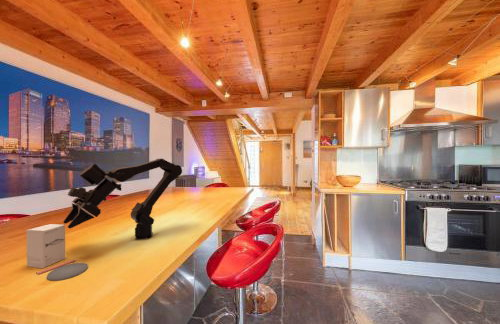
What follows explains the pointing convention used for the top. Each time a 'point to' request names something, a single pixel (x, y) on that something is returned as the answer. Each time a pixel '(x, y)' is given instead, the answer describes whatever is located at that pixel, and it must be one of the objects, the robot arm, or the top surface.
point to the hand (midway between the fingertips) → (66, 225)
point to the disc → (67, 271)
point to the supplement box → (45, 245)
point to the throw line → (55, 267)
